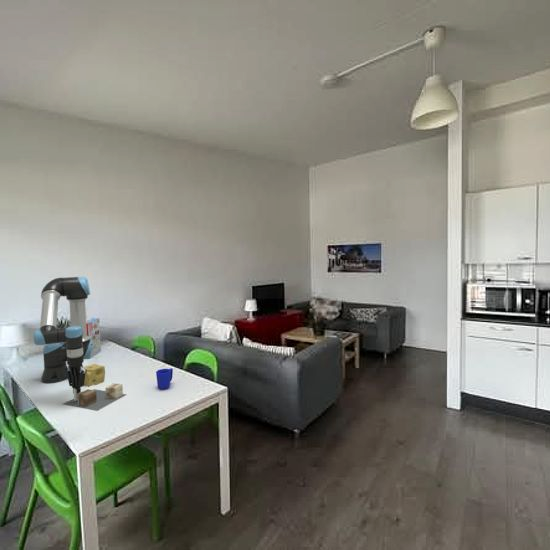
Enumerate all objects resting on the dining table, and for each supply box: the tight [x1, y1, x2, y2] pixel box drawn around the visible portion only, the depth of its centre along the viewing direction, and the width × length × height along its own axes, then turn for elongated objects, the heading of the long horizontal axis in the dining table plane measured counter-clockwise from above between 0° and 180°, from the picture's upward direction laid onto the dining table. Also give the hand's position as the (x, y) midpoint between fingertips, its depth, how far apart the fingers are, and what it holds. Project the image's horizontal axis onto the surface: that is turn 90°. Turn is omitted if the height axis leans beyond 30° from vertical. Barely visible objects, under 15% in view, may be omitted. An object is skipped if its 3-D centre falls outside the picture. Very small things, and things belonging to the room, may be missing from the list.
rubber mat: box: [62, 388, 128, 412], centre depth 177 cm, size 24×20×1 cm
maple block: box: [104, 382, 124, 399], centre depth 180 cm, size 6×6×6 cm
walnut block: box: [78, 388, 97, 407], centre depth 172 cm, size 6×6×6 cm
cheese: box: [83, 363, 106, 387], centre depth 201 cm, size 10×11×10 cm
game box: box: [84, 317, 102, 360], centre depth 256 cm, size 21×6×27 cm, turn 6°
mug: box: [155, 367, 174, 390], centre depth 194 cm, size 8×12×10 cm
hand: (77, 399), depth 174 cm, fingers closed
